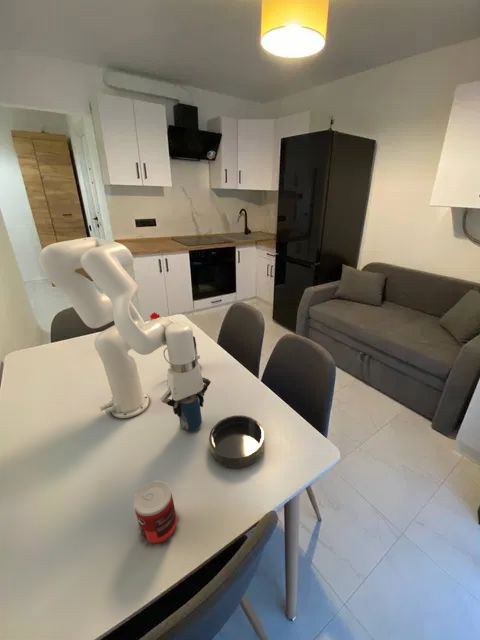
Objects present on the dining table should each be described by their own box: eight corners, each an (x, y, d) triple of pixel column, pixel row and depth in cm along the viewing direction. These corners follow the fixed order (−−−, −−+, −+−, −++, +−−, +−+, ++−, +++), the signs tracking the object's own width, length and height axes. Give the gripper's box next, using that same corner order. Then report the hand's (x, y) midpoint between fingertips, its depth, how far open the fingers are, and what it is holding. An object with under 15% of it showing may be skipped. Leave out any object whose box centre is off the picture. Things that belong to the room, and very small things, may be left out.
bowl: (227, 480, 79) (226, 468, 77) (201, 441, 91) (200, 430, 89) (274, 450, 88) (274, 439, 86) (245, 418, 100) (244, 408, 98)
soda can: (202, 416, 100) (199, 389, 95) (201, 432, 94) (198, 403, 89) (181, 419, 99) (177, 391, 94) (179, 435, 93) (175, 405, 88)
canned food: (147, 511, 71) (139, 481, 67) (180, 508, 72) (174, 478, 67) (137, 546, 64) (127, 515, 60) (174, 543, 65) (167, 512, 60)
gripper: (204, 349, 94) (208, 392, 101) (149, 367, 84) (158, 414, 92) (215, 359, 88) (218, 404, 96) (158, 380, 79) (167, 428, 86)
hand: (189, 409), depth 94 cm, fingers closed on soda can, 7 cm apart
